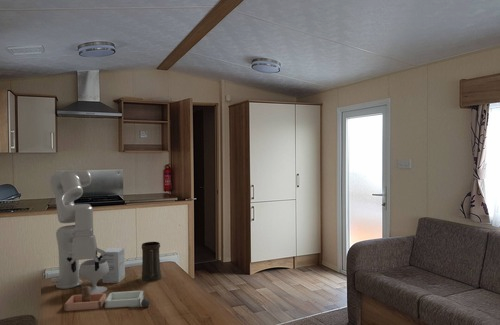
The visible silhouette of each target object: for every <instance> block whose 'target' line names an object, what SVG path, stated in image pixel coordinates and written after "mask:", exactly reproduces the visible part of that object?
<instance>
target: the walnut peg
mask: <svg viewBox="0 0 500 325" xmlns="http://www.w3.org/2000/svg"><path fill="white" fill-rule="evenodd" d="M90 288H91V285H84V286H82V287H81V295H82V302H91V298H90Z"/></svg>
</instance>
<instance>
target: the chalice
mask: <svg viewBox="0 0 500 325" xmlns="http://www.w3.org/2000/svg"><path fill="white" fill-rule="evenodd" d="M95 262H96V261H95V260H94V259H86V260H85V261H83V262H81V264H80V265H79V277H80V278H81V279H82V280H86V281H89V282H90V283H91V284H92V286H90V294H97V293H105V292H106V291H107V290H108V287H106V286H103V285H102V286H101V285H99V286H97V283H98V282H99V281H100V280H101V279H103V277H104V276H106V275H107V273H108V272H109V266H108V263H107V261H106V260H104V259H102V258H101V259H100V261H99V269H98V270H97V271H95Z"/></svg>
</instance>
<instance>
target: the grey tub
mask: <svg viewBox="0 0 500 325" xmlns="http://www.w3.org/2000/svg"><path fill="white" fill-rule="evenodd" d="M106 298H107V299H106V300H105V302H104V308H105V309H111V308H120V307H121V308H125V307H129V308H139V307H141V306H142V304H141V302H142V300H143V299H145V298H144V290H130V291H115V292H114V291H112V292H109V294H108V296H106Z"/></svg>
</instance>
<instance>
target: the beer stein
mask: <svg viewBox="0 0 500 325" xmlns="http://www.w3.org/2000/svg"><path fill="white" fill-rule="evenodd" d="M160 247H161V244H160V242H159V241H148V242H147V241H146V242H142V244H141V250H142V262H141V281H143V282H148V283H149V282H156V281H160V280H161V279H162V270H161V263H160V262H161V261H160V260H161V259H160Z"/></svg>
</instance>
